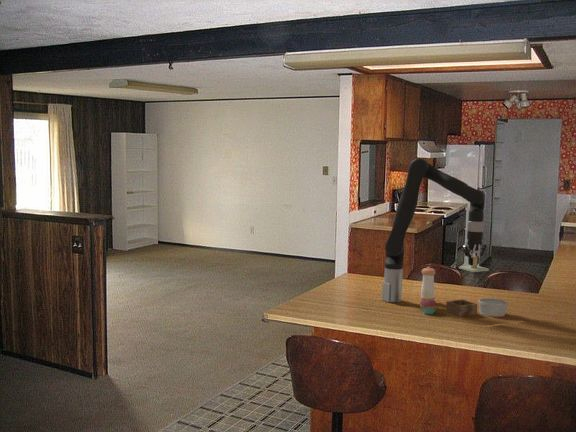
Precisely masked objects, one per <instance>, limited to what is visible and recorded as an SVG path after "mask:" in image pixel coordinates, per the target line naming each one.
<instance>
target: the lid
mask: <svg viewBox="0 0 576 432" xmlns="http://www.w3.org/2000/svg"><path fill="white" fill-rule="evenodd" d="M477 258H478V257H477V256H475V255H473V265H461V266H458V269H459V270H463V271H467V272H470V273H478V272H489V271H490V269H489V268H487V267H483V266H480V265H477Z"/></svg>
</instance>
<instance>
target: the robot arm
mask: <svg viewBox="0 0 576 432" xmlns="http://www.w3.org/2000/svg"><path fill="white" fill-rule="evenodd" d="M423 179H427V180H430V181H432V182H433V183H436V184H437V185H438V186H441V187H442V188H444V189H445V190H447V191H449V192H451V193H453V194H455V195H456V196H460V197H461V198H462V199H463V200H465V201H467V202H469V211H468V218H467V219H468V220H467V230H466V236H467V237H466V239H467V242H466V244H465V245H463V244H462V246H461V247H462V251H463V252H464V253H463V254H464V256H466V257H467V259H468V262H467V263H468V266H471V265H473V256H477V257H478V258H477V266H479V264H480V258H481V257H482V256H484V253H485V251H486V249H487V244H484V243H483V239H484V208H485V201H486V200H485V199H486V194H485V192H484V191H483V190H481V189H476V188H475V187H472V186H470V185H469V184H468V183H466V182H465V181H462V180H460V179H458V178H457V177H454V176H453V175H450V174H448V173H445V172H443V171H442V170H440V169H438V168H436V167H435V166H434V165H431V163H429V162H428V161H427V160H426V159H424V158H420V157H419V158H414V159H412V161H411V162H410V164H409V167H408V171H407V177H406V180H405V184H404V187H403V189H402V192H401V194H400V197H399V201H398V204H397V207H396V210H395V214H394V218H393V224H392V228H391V231H390V232H389V235H388V238H387V240H386V242H385V244H384V249H385V260H384V261H385V262H384V275H383V276H384V278H383V279H384V280H383V282H382V290H381V291H382V292H381V300H382V301H384V302H387V303H400V302H402V300H403V299H402V296H403V294H402V293H403V274H404V273H403V272H404V270H403V269H404V259H405V257H404V255H405V254H404V253H405V242H404V241H405V238H406V233H407V231H408V228H409V227H410V225H411V222H412V220H413V218H414V216H415V213H416V210H417V207H418V202H419V195H420V189H421V185H422V182H423Z"/></svg>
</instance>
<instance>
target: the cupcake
mask: <svg viewBox="0 0 576 432" xmlns="http://www.w3.org/2000/svg"><path fill="white" fill-rule="evenodd" d="M419 307H420V308H421V309H422V310H421V311H422V314H425V315H433V314H435V312H436V310H437V309H438V308H439V305H438V302H436V300H435V301H434V300H430V299H428V297H427V291H426V299H425V300H423V301H421V303H420V302H419Z"/></svg>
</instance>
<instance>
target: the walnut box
mask: <svg viewBox="0 0 576 432" xmlns="http://www.w3.org/2000/svg"><path fill="white" fill-rule="evenodd" d="M445 306H446V307H445V312H446V313H448V314H451V315H453V316H455V317H456V316H457V317H460V318H463V317H471V316H477V315H478V303H475V302H471V301H468V300H466V299H463V298H462V299H455V300H446V304H445Z"/></svg>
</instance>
